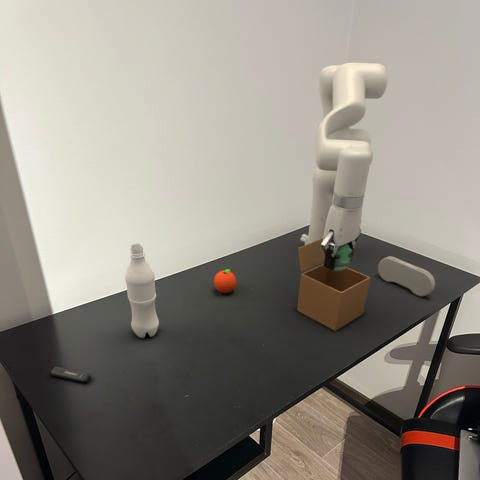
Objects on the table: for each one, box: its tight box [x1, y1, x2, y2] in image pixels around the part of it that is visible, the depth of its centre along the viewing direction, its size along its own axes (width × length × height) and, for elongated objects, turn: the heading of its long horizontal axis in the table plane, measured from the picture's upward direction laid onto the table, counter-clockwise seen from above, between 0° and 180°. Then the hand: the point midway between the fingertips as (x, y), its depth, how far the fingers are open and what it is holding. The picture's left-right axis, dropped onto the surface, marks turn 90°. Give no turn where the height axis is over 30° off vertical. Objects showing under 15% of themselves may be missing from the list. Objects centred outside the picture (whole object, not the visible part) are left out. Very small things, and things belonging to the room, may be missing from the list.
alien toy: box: [330, 241, 352, 272], centre depth 121 cm, size 7×8×10 cm
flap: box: [297, 238, 325, 273], centre depth 127 cm, size 7×13×1 cm
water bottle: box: [124, 243, 160, 339], centre depth 114 cm, size 7×7×25 cm
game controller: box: [377, 255, 436, 297], centre depth 143 cm, size 20×2×8 cm, turn 39°
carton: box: [296, 263, 372, 332], centre depth 128 cm, size 14×13×12 cm
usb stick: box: [50, 366, 92, 384], centre depth 104 cm, size 10×3×2 cm, turn 73°
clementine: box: [213, 268, 237, 294], centre depth 138 cm, size 8×7×7 cm
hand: (337, 263), depth 123 cm, fingers closed on alien toy, 7 cm apart
